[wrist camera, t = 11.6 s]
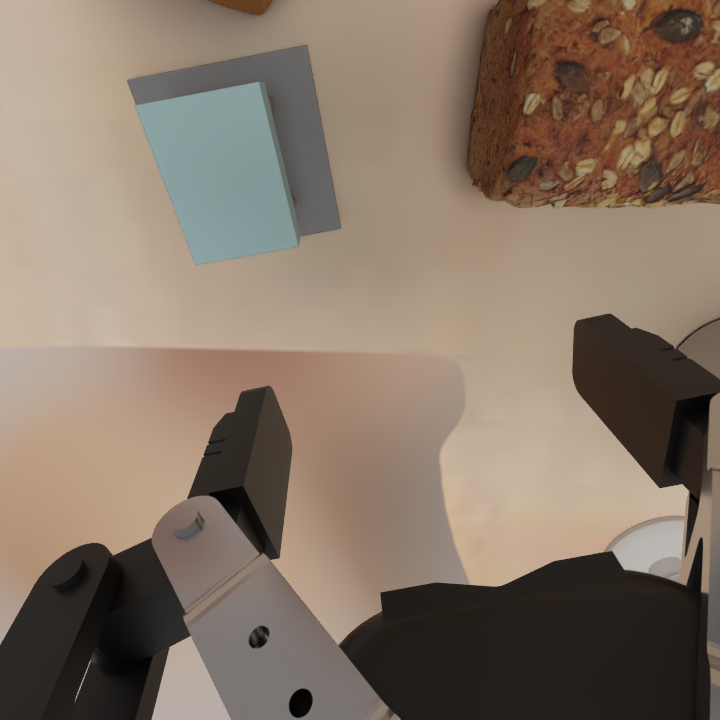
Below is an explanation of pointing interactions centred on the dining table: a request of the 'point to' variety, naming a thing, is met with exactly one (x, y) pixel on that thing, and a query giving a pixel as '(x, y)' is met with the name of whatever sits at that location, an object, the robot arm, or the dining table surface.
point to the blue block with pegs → (223, 171)
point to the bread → (598, 104)
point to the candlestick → (652, 547)
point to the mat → (290, 114)
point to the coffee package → (246, 5)
